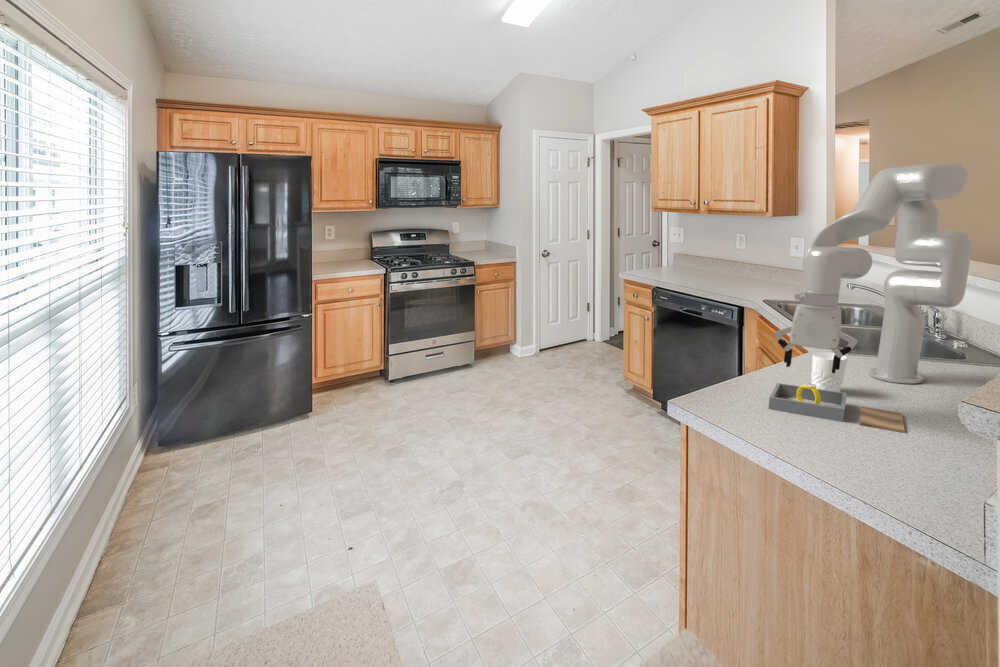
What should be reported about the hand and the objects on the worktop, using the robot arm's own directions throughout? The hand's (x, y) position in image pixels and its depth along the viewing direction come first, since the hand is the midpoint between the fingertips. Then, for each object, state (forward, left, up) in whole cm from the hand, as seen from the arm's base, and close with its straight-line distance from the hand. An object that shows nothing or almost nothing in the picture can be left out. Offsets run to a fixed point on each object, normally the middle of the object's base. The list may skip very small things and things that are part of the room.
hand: (810, 368), depth 124 cm
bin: (0, 0, -10) cm, 10 cm away
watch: (0, 0, -10) cm, 10 cm away
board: (+1, +15, -10) cm, 18 cm away
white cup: (-16, +3, -10) cm, 20 cm away
